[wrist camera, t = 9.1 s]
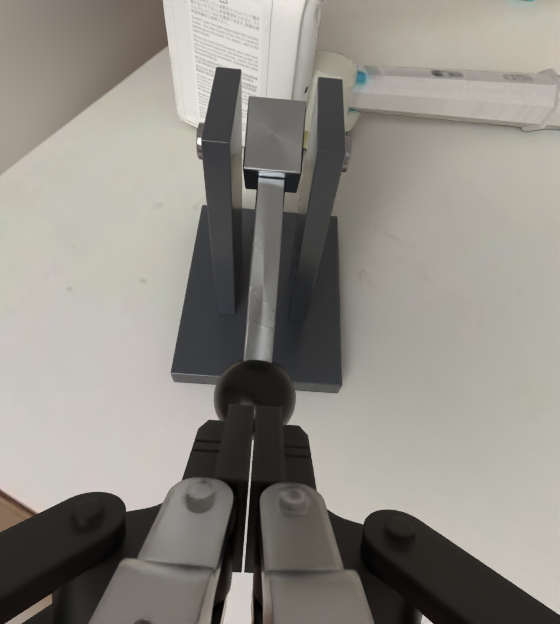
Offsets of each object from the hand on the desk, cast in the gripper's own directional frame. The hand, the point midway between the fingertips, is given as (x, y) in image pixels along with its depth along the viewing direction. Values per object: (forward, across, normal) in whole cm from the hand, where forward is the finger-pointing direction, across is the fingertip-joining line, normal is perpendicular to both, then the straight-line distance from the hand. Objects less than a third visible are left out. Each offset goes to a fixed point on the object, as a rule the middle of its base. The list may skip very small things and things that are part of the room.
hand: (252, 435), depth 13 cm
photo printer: (+26, +3, -12) cm, 29 cm away
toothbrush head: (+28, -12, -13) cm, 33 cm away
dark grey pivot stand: (+15, 0, -1) cm, 15 cm away
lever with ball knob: (+8, 0, -3) cm, 8 cm away
